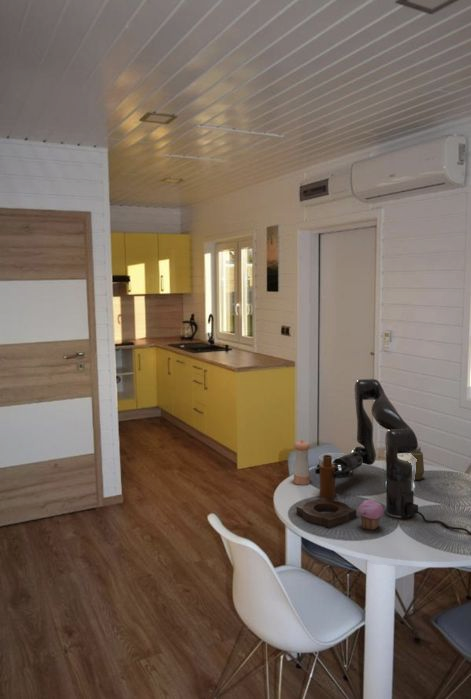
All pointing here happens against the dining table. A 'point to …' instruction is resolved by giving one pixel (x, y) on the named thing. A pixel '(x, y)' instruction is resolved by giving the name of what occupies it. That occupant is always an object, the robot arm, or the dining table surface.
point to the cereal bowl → (334, 455)
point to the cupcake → (370, 514)
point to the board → (327, 519)
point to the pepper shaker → (301, 463)
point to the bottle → (327, 478)
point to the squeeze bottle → (418, 463)
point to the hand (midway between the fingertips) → (324, 473)
